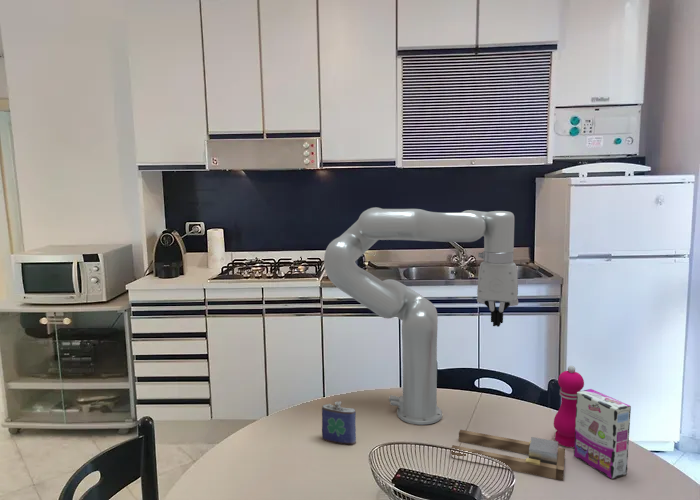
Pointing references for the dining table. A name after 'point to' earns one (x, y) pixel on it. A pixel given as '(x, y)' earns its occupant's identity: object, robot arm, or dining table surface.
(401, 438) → the dining table surface
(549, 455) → the block
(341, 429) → the flask
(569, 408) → the pepper mill
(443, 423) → the dining table surface
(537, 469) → the track
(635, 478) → the dining table surface
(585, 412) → the candy bar box
